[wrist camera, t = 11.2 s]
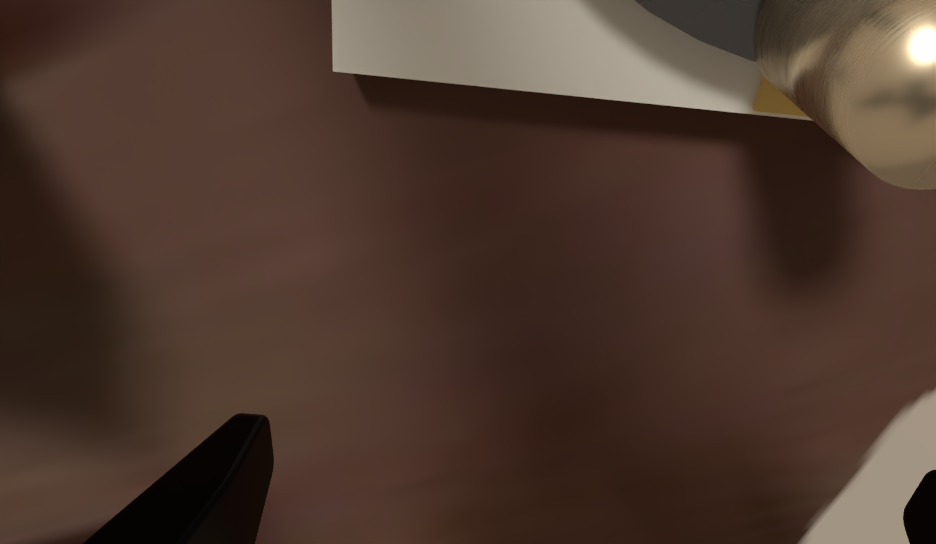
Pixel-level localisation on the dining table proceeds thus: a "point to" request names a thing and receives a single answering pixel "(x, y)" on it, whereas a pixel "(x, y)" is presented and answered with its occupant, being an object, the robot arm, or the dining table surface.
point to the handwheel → (838, 69)
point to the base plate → (550, 52)
